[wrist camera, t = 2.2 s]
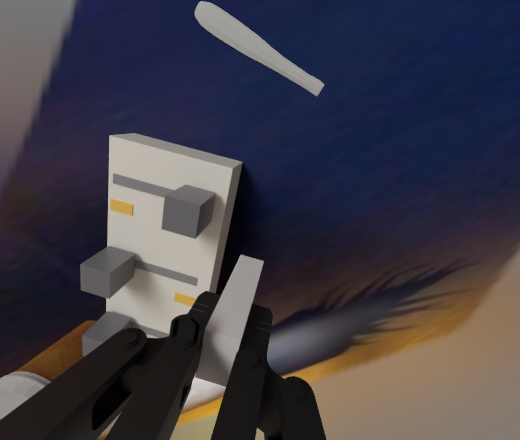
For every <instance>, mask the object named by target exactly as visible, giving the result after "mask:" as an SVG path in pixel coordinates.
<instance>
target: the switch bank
mask: <svg viewBox="0 0 520 440" xmlns="http://www.w3.org/2000/svg"><path fill="white" fill-rule="evenodd" d="M242 163H243V162H240V161H237V160H233V159H229V158H225V157H222V156H218V155H214V154H210V153H207V152H203V151H199V150H195V149H192V148H188V147H184V146H180V145H177V144H173V143H169V142H165V141H162V140H158V139H154V138H151V137H147V136H143V135H139V134H136V133H133V134H121V135H110V142H109V192H108V243H107V247H108V246H112V247H115V248H118V249H122V250H125V251H128V252H132V253H135V266H134V277H133V278H132V279H131V280H130V281H129V282H127V283H126V284H125V285H124V286H123V287H122V288H121V289H120V290H119V291H118V292H116V293H115V294H114V295H113V296H112V297H111V298H110V299H108V298H106V312H107V311H110V312H113V313H116V314H119V315H122V316H125V317H129V318H131V328H138V329H141V330H143V331H144V332H145V333H146V336H147V338H164V337H167V336H169V333H170V326H171V321H172V320H173V319H174V318H175V317H177V316H179V315H183V314H188V312H189V310H190V309H191V307H192V306H193V304H194V303H195V301H196V299H197V297H198V296H199V295H200V294H201V293H203V292H205V291H209V292H212V293H216V289H217V284H218V279H219V274H220V269H221V265H222V260H223V255H224V250H225V245H226V240H227V236H228V231H229V226H230V221H231V216H232V211H233V207H234V202H235V197H236V192H237V187H238V182H239V178H240V173H241V168H242ZM185 184H186V185H190V186H193V187H197V188H201V189H204V190H208V191H211V192H215V193H216V198H215V203H214V209H213V214H212V220H211V223H210V224H209V225H208V226H207V227H206V228H205V229H204V230H203V231H202V232H201V233H200V235H199V236H198V237H197V238H196V239H194V238H190V237H187V236H183V235H180V234H176V233H173V232H170V231H166V230H163V229H161V228H162V218H163V208H164V198H165V195H167V194H169V193H170V192H172V191H174V190H176V189H178V188H180V187H182V186H184V185H185Z"/></svg>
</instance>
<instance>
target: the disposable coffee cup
mask: <svg viewBox="0 0 520 440" xmlns="http://www.w3.org/2000/svg"><path fill="white" fill-rule="evenodd" d="M96 322H97V321H92V320H90V321H86V322H84V323H82V324H81V325H80V326H78V327H77V328H76V329H74V330H73V331H71V332H70V333H69V334H67V335H66V336H64V337H63V338H62V339H60V340H59V341H57V342H56V343H55V344H53V345H52V346H50V347H49V348H48V349H46V350H45V351H43V352H42V353H41V354H39V355H38V356H36V357H35V358H34V359H32V360H31V361H29V362H28V363H27V364H25V365H24V366H23V367H21V368H20V369H18V370H17V371H15V372H13V373H10V374H9V375H6V376H4V377H2V378H0V420H1V419H2V418H3V417H5V416H6V415H7V414H9V413H10V412H11V411H13V410H14V409H15V408H17V407H18V406H19V405H21V404H22V403H23V402H25V401H26V400H27V399H29V398H30V397H31V396H33V395H34V394H35V393H37V392H38V391H39V390H41V389H42V388H43V387H45V386H46V385H47V384H49V383H50V382H51V381H53V380H54V379H55V378H57V377H58V376H59V375H61V374H62V373H63V372H65V371H66V370H67V369H69V368H70V367H71V366H73V365H74V364H75V363H77V362H78V361H79V360H81V359H82V358H83V357H85V356H83V352H82V335H83V334H84V333H85V332H86V331H87V330H88V329H89V328H91V327H92V326H93V325H94V324H95V323H96Z"/></svg>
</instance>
